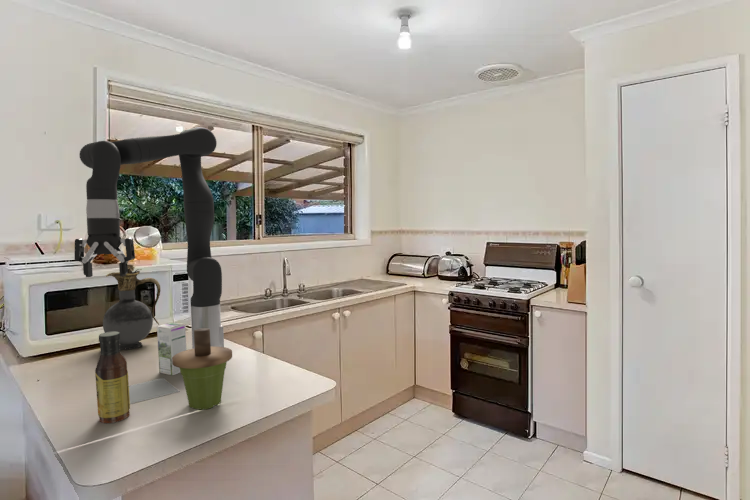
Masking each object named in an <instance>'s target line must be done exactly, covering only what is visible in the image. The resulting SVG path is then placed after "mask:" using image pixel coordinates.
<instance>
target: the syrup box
mask: <svg viewBox="0 0 750 500" xmlns="http://www.w3.org/2000/svg"><path fill="white" fill-rule="evenodd" d="M156 331H157V332H156V334H157V351H158V369H159V370H158V371H159V373H160V374H162V375H163V374H165V375H169V376H174V375H177V374H181V372H180V368H179V367H175V366H174V365H173V364H172V357H173V356H174V355H176V354H177V353H180V352H182V351H186V350H187V333H186V324H185V323H178V322H167V323H163V324H159V325H157V326H156Z"/></svg>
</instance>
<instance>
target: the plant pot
mask: <svg viewBox="0 0 750 500" xmlns="http://www.w3.org/2000/svg"><path fill="white" fill-rule="evenodd" d="M226 367H227V362H225V363H222V364H219V365H215V366H210V367H204V368H191V369H189V368H180V375H181V376H182V380H183V384H184V388H185V392H186V393H185V394H186V398H187V401H188V406H189V407H190V408H192V409H196V410H198V411H201V410H208V409H211V408H213V407H215V406H218V405H219V404H220V403H221V402H222V395H223V389H224V388H223V387H224V379H225V371H226Z"/></svg>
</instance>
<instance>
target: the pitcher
mask: <svg viewBox="0 0 750 500" xmlns="http://www.w3.org/2000/svg"><path fill="white" fill-rule="evenodd" d="M135 268H136V267H135V265H134V264H130V263H129V264H128V273H127V274H126V276H120V271H118V272H116V271H115V272H109V273H108V274H106V275H105V277H109V276H110V277H113V278H114V279H115V280H116V281H117V289H118V296H119V301H118V302H116V303H114V304H112V305H111V306H110V307H108V309H107V310H106V312H105V313H104V316H103V319H102V328H103V333H106V332H113V331H116V332H119V333H120V339H119V344H120V351H128V350H134V349H139V348H140V347H142V346H143V343H142V342H141V341H143V340H144V339H146V338H147V337H148V336H149V334H150V333H151V331H152V329H153V323H154V321H155V322H156V324H158V325H157V326H160V324H159V322H158V319H156V317H155V315H154V311H155V307H156V305H157V303H158V302H159V301H158V300H159V298H160V295H161V284H160V282H159V281H158V279H156V278H154V277H145V278H142V279H139V278H137V276H138V275H139V274H140V273H141V271H142V268H141V269H135ZM134 269H135V270H134ZM145 283H153V284H155V286H156V298H155V300H154V302H153V304H152V306H151V309H150V308H149V307H148V306H147V305H146V304H145V303H144V302H142V301H139V300H136V291H135V290H136V288H137V287H138V286H139V285H144V284H145Z"/></svg>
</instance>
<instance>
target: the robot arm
mask: <svg viewBox="0 0 750 500" xmlns="http://www.w3.org/2000/svg"><path fill="white" fill-rule="evenodd" d="M216 148H217V138H216V136H215V134H214V133H213V132H212V130H210V129H208V128H205V127H203V126H200V127H199V126H198V127H197V126H196V127H193V128H188V129H184V130H182V131H180V133H176V134H169V135H168V134H167V135H156V136H152V135H151V136H140V137H132V138H125V139H120V140H116V141H108V140H99V141H94V142H90V143H87V144H86V145H85V144H84V146H82V148H81V149H80V150H79V160H80V161H81V163H82V164H83V165H84V166H86V167H87V168H89V169H92V170H91V171H92V172H91V176H90V177H89V178H88V179H87V180H86V184H85V189H86V205H85V206H86V209H85V211H86V227H87V228H86V230H87V239H84V238H76V239H75V240H74V261H75V262H78V263H79V262H80V263H81V264H82V267H83V268H82V270H83V271H82V273H83V275H84V276H85V278H93V262H92V261H93V260H94V258H95V257H97V255H113V256H114V257H115V258H116V259H117V260H118V261H119V263H118V268H119V269H118V270H119V272H120V276H126V274H127V273H128V265H129V264H128V263H129V261H132V260H135V259H136V254H135V246H134V244H135V243H134V238H132V237H126V238H122V236H121V225H120V224H121V223H120V222H121V221H120V219H121V218H120V216H121V213H120V208H119V207H120V206H119V202H118V187H117V184H118V180H119V176H120V170H121V165H132V164H133V165H135V164H142V163H147V162H152V161H154V162H155V161H157V160H161V159H166V158H171V157H176V156H178V158H179V164H180V169H181V170H180V171H181V177H182V178H181V179H182V180H181V181H182V189H183V190H182V192H183V208H184V209H183V211H184V219H185V220H184V221H185V233H186V240H187V241H186V242H187V252H186V253H187V254H186V255H187V256H186V257H187V258H186V274H187V276H188V278H189V279H190V280H191V281H192V286H193V289H192V295H191V297H190V318H191V319H190V321H191V346H192V347H191V349H194V348H195V346H194V330H196V329H201V328H209V329H210V345H211V347H225V338H224V337H225V336H224V325H222V321H221V320H222V319H221V318H222V317H221V315H222V314H221V297H222V293H223V290H222V289H223V273H222V266H221V264H220V262H219V261H218V260H217V259H215V258H213V256H212V253H211V252H212V251H211V236H212V232H213V228H214V223H215V222H214V221H215V204H214V203H215V202H214V195H213V193H212V190H211V189H210V187H209V185H208V183H207V181H206V179H205V177H204V174H203V170H202V157H206V156H209V155H211V154H213V152H215V150H216ZM121 245H123V246H124V247H125V252H124V251H123V250H122V249H121V248H120V246H121ZM87 246H88V247H89V249H88V250H87V252H86V253H85V247H87ZM125 254H126V255H125Z"/></svg>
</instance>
